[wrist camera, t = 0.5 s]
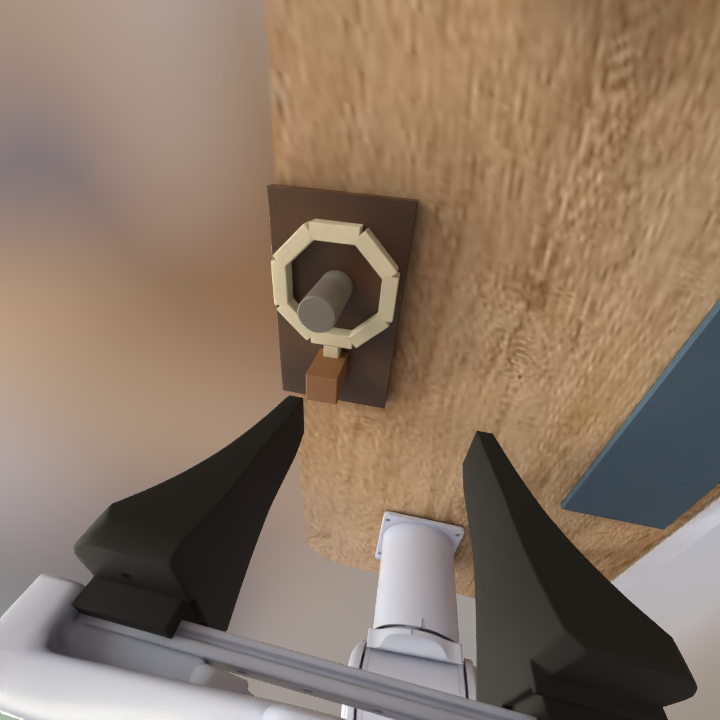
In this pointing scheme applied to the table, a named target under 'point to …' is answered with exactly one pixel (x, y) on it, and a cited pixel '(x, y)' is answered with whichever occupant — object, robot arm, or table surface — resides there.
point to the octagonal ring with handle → (330, 360)
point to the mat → (662, 442)
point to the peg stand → (340, 283)
